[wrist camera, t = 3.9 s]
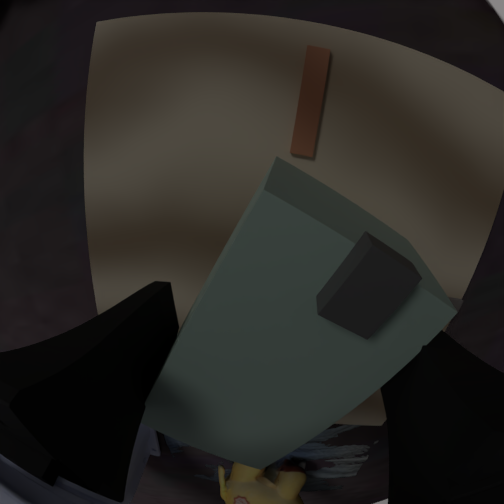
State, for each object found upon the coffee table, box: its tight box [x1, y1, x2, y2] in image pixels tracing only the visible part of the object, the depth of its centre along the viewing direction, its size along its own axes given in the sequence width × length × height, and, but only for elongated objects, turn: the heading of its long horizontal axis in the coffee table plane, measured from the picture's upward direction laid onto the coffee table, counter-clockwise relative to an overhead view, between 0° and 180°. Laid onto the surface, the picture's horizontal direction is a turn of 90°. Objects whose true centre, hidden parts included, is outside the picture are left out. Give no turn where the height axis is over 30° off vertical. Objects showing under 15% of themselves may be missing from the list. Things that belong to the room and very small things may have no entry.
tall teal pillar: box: [141, 156, 457, 470], centre depth 9 cm, size 5×9×5 cm, turn 151°
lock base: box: [84, 12, 504, 426], centre depth 13 cm, size 20×18×3 cm
